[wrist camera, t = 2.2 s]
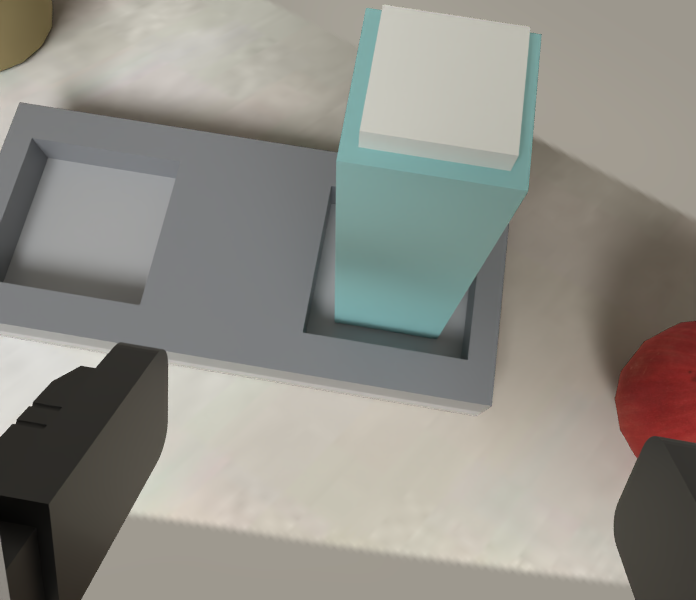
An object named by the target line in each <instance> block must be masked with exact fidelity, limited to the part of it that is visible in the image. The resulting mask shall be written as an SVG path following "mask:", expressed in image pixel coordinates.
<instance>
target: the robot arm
mask: <svg viewBox="0 0 696 600" xmlns="http://www.w3.org/2000/svg"><path fill="white" fill-rule="evenodd" d="M167 424H168V356H167V353H166V351H165V350H164V349H158V348H153V347H147V346H141V345H135V344H130V343H124V342H119V343H117V344H116V345H115V346H114V347H113V348H112V349H111V351H110V352H109V353H108V354H107V355H106V357H105V358H104V359H103V360H102V361H101V362H100V364H99V365H98V366H97V367H96V368H91V367H85V366H80V367H78V368H76V369H74V370H73V371H71V372H69V373H67V374H65V375H63V376H61V377H60V378H58V379H56V380H54V381H52V382H51V383H50V384H49V385H48V387H47V388H46V389H45V390H44V391H43V392H42V393H41V394H40V395H39V396H38V397H37V398H36V399H35V400H34V402H33V405H32V407H31V406H29V407H28V408H27V409H26V410H25V411H24V412H23V413H22V414H21V416H20V417H19V418H18V419H17V422H16V424H12V425H11V426H10V427H9V428H8V429H7V431H6V432H5V433H4V434H3V435H2V436H1V437H0V600H81V599H82V597H83V595H84V593H85V592H86V590H87V588H88V586H89V584H90V583H91V581H92V579H93V577H94V575H95V573H96V572H97V570H98V568H99V566H100V564H101V563H102V561H103V559H104V557H105V556H106V554H107V552H108V550H109V548H110V546H111V545H112V542H113V541H114V539H115V537H116V536H117V534H118V532H119V530H120V528H121V527H122V525H123V523H124V521H125V519H126V518H127V516H128V514H129V512H130V510H131V509H132V507H133V505H134V503H135V501H136V500H137V498H138V496H139V494H140V492H141V490H142V489H143V487H144V485H145V483H146V481H147V480H148V478H149V476H150V474H151V472H152V471H153V469H154V467H155V465H156V463H157V461H158V460H159V457H160V455H161V452H162V449H163V446H164V442H165V438H166V433H167ZM614 537H615V542H616V546H617V549H618V552H619V554H620V557H621V560H622V563H623V566H624V569H625V572H626V574H627V577H628V580H629V583H630V586H631V589H632V592H633V594H634V597H635V600H696V443H694V442H688V441H682V440H676V439H670V438H665V437H659V436H652V437H650V438H649V439H648V440H647V441H646V442H645V444H644V446H643V448H642V450H641V452H640V454H639V457H638V459H637V461H636V463H635V466H634V468H633V470H632V472H631V475H630V477H629V479H628V481H627V484H626V486H625V488H624V490H623V493H622V495H621V497H620V499H619V502H618V504H617V507H616V510H615V516H614Z"/></svg>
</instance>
